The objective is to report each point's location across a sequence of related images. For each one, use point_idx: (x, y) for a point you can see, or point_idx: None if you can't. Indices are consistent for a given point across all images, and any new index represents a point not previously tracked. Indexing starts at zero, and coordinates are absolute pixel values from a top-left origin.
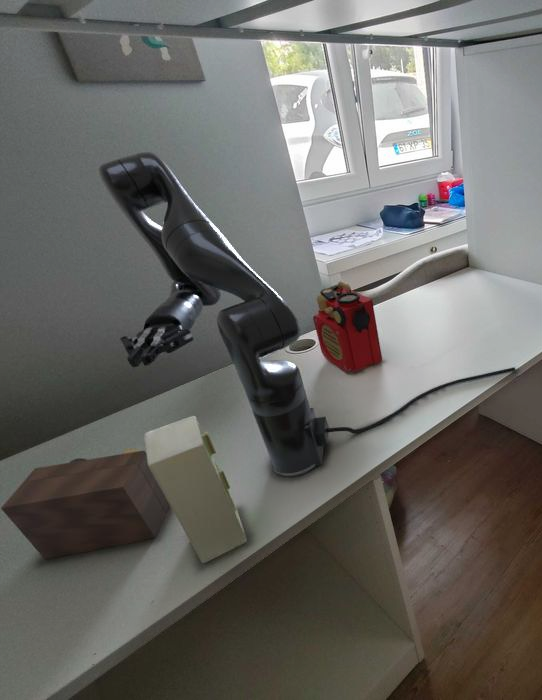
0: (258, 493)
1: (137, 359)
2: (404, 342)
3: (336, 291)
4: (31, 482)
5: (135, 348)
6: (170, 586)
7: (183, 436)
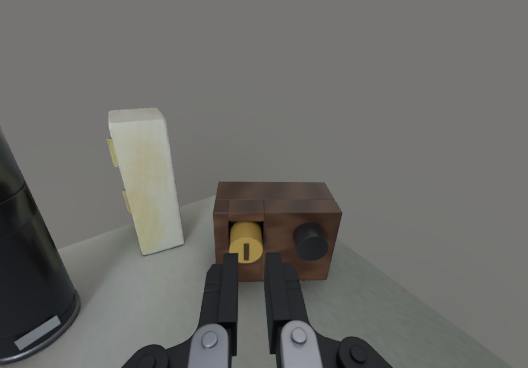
0: (114, 273)
1: (266, 285)
2: None
3: None
4: (323, 197)
5: (299, 324)
6: (197, 212)
7: (125, 114)
